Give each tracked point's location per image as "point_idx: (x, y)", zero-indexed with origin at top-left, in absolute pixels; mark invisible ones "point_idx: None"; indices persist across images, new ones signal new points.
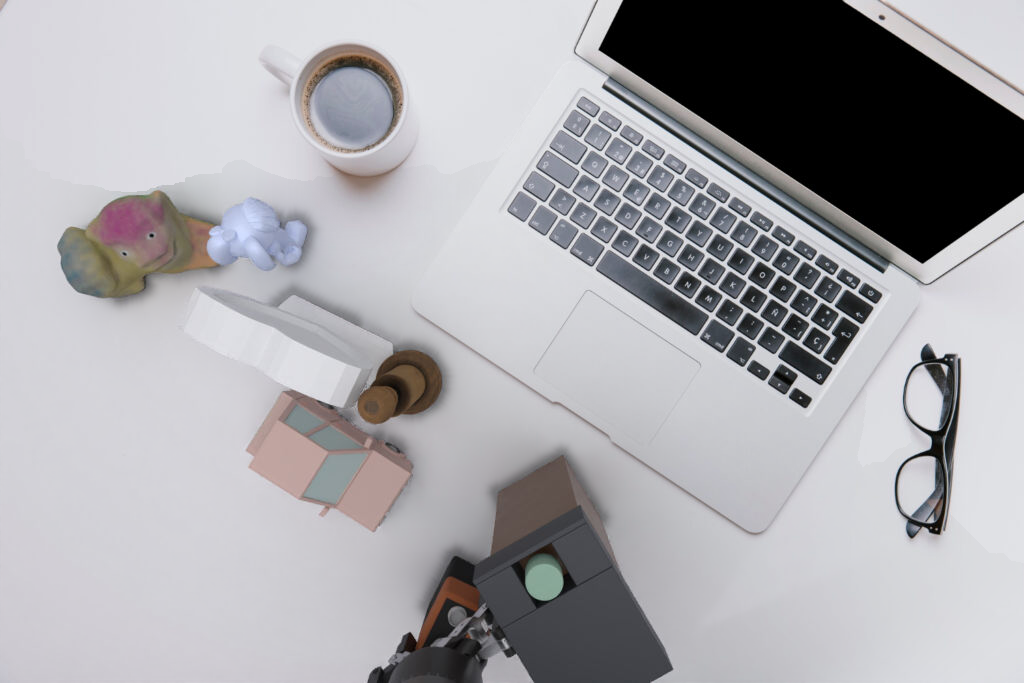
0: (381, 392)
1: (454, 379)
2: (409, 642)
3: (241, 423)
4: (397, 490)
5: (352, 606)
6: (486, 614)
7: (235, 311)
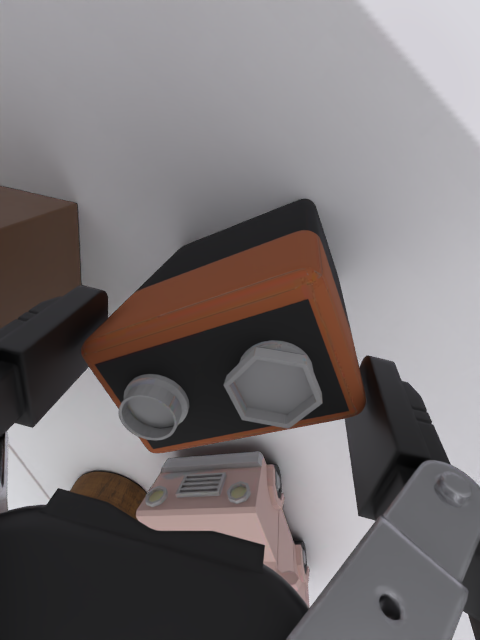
0: None
1: (65, 467)
2: (353, 435)
3: (316, 589)
4: (170, 517)
5: (442, 383)
6: None
7: None
